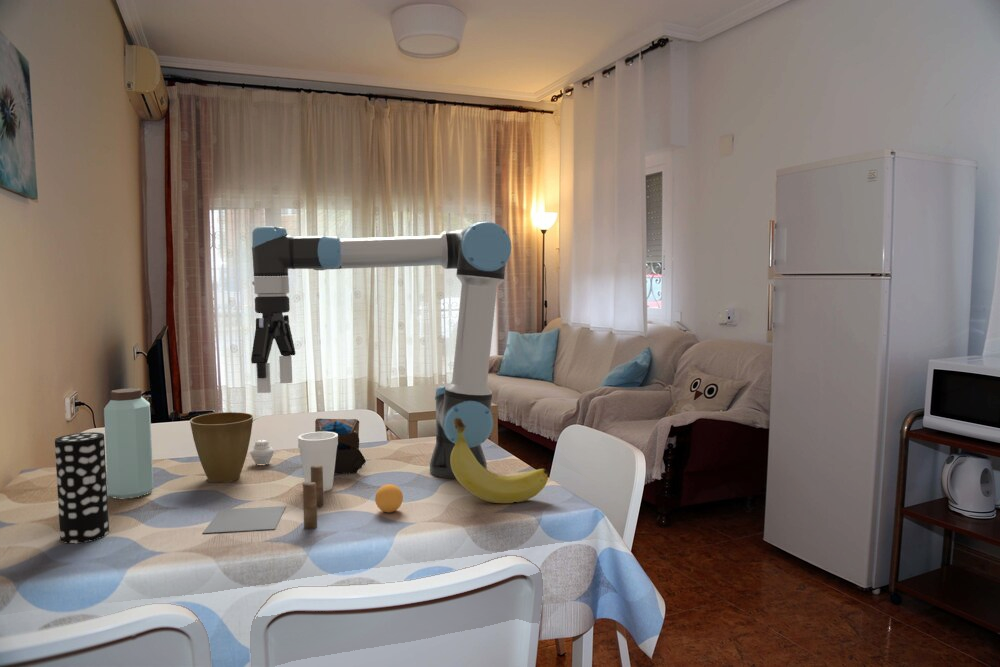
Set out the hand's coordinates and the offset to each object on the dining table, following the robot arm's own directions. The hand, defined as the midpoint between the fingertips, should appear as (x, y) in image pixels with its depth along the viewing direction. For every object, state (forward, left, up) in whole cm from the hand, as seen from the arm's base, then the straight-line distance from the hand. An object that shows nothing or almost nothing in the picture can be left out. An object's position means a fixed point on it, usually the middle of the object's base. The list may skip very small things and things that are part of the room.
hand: (275, 387), depth 155 cm
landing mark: (+5, +14, -26) cm, 30 cm away
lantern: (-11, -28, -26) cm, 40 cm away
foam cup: (-8, -6, -26) cm, 28 cm away
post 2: (-9, +7, -26) cm, 29 cm away
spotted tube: (+35, +18, -26) cm, 47 cm away
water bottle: (+36, -9, -26) cm, 45 cm away
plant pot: (+17, -18, -26) cm, 36 cm away
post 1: (-9, +20, -26) cm, 34 cm away
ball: (-25, +14, -23) cm, 37 cm away
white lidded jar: (+10, -31, -26) cm, 42 cm away
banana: (-50, +12, -26) cm, 58 cm away
